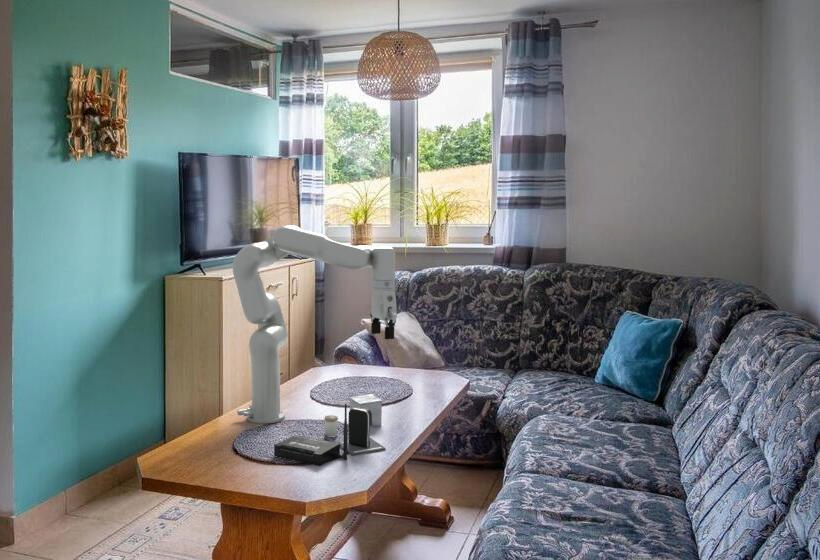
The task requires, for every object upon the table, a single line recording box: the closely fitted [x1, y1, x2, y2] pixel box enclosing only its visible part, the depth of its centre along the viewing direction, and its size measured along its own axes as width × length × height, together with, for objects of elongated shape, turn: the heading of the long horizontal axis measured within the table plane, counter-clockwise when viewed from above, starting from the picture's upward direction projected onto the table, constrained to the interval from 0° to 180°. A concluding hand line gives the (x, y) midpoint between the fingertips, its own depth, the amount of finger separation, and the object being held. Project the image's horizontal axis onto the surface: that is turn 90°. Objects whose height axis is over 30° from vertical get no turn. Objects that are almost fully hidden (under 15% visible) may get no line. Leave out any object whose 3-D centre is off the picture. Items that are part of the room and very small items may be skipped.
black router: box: [273, 403, 348, 467], centre depth 208 cm, size 20×14×17 cm
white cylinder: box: [324, 414, 339, 436], centre depth 228 cm, size 4×4×6 cm
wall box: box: [348, 393, 384, 428], centre depth 240 cm, size 9×9×9 cm
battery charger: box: [347, 407, 372, 447], centre depth 217 cm, size 7×4×11 cm, turn 61°
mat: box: [336, 436, 387, 457], centre depth 218 cm, size 11×11×1 cm
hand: (382, 336), depth 235 cm, fingers open, 9 cm apart
